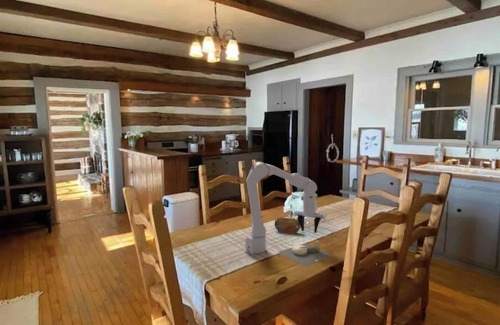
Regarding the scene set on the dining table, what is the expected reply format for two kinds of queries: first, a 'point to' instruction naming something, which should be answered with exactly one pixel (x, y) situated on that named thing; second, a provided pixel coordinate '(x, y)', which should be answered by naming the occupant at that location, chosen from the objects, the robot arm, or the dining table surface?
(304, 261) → the stand plate
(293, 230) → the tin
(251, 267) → the dining table surface
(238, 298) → the dining table surface
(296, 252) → the cam dial
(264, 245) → the robot arm
